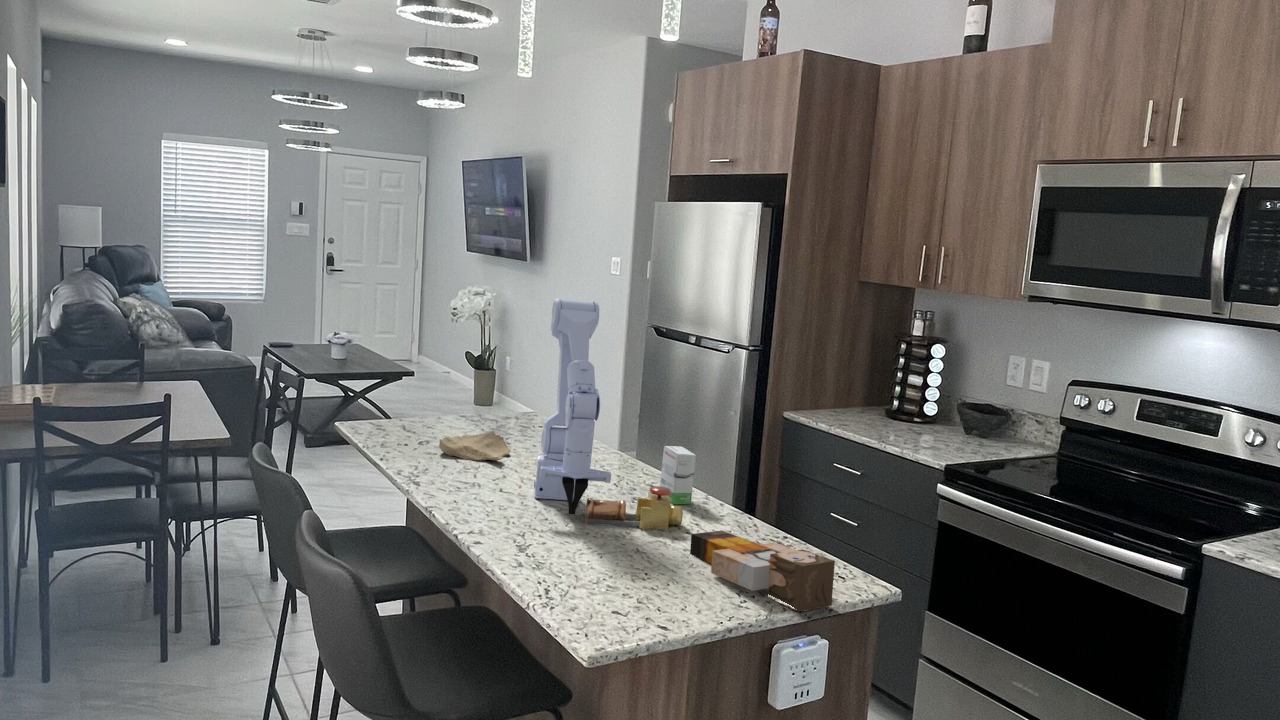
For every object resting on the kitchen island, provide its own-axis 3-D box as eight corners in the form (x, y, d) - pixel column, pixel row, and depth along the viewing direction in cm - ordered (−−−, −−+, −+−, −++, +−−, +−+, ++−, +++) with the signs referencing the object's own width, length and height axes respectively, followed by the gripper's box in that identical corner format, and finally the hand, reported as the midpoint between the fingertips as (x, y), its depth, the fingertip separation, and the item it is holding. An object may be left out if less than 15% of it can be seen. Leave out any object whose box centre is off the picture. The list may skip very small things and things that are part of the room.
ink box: (691, 504, 214) (697, 454, 213) (672, 504, 212) (678, 454, 211) (676, 493, 222) (682, 445, 221) (657, 493, 220) (663, 445, 219)
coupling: (586, 520, 193) (588, 499, 193) (584, 517, 197) (586, 496, 197) (624, 523, 194) (626, 502, 194) (622, 520, 198) (624, 499, 198)
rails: (586, 523, 192) (586, 518, 192) (584, 515, 198) (585, 510, 197) (639, 527, 194) (639, 522, 193) (636, 518, 199) (636, 514, 199)
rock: (522, 454, 244) (524, 438, 244) (498, 471, 230) (499, 453, 229) (462, 441, 249) (463, 425, 248) (434, 456, 234) (435, 439, 233)
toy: (736, 519, 187) (849, 558, 162) (734, 557, 187) (846, 602, 163) (676, 525, 178) (786, 568, 154) (673, 566, 179) (782, 615, 154)
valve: (639, 528, 193) (643, 493, 192) (635, 517, 200) (639, 482, 199) (682, 531, 194) (686, 496, 193) (676, 520, 201) (680, 485, 200)
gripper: (543, 451, 188) (536, 516, 189) (614, 457, 190) (607, 521, 191) (542, 443, 195) (536, 506, 196) (611, 448, 196) (605, 511, 198)
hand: (571, 513), depth 194 cm, fingers closed
